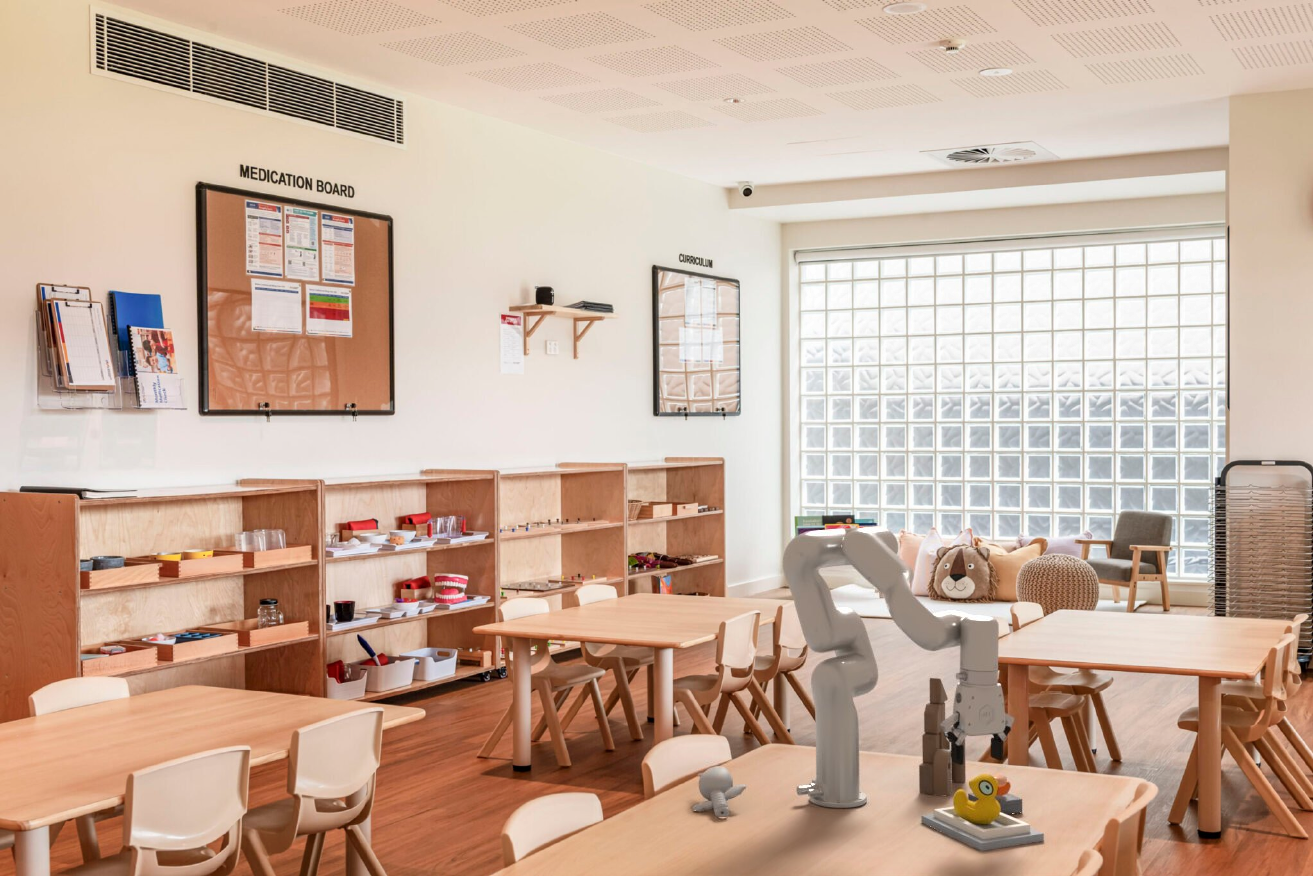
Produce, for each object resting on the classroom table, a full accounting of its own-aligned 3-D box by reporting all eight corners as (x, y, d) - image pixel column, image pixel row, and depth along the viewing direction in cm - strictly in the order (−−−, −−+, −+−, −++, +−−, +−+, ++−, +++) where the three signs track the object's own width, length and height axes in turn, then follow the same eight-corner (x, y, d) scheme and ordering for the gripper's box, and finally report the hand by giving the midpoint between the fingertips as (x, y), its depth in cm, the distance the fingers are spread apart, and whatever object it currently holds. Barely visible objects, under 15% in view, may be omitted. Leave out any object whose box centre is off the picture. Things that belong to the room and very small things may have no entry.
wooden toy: (948, 797, 276) (947, 685, 276) (919, 793, 280) (917, 682, 280) (967, 780, 290) (966, 674, 290) (939, 777, 293) (938, 671, 293)
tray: (981, 851, 239) (981, 835, 239) (921, 822, 257) (921, 808, 257) (1043, 841, 245) (1043, 825, 245) (980, 814, 263) (980, 799, 263)
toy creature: (689, 806, 260) (680, 767, 280) (700, 836, 261) (691, 796, 281) (745, 785, 261) (732, 748, 280) (756, 816, 262) (743, 776, 281)
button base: (991, 817, 260) (991, 803, 261) (968, 807, 268) (968, 793, 268) (1022, 813, 264) (1022, 798, 264) (998, 803, 271) (998, 789, 271)
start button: (992, 795, 262) (992, 781, 263) (978, 789, 267) (977, 775, 267) (1011, 792, 264) (1011, 778, 264) (997, 787, 269) (996, 773, 269)
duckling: (1012, 822, 252) (1011, 773, 252) (1010, 830, 247) (1009, 779, 247) (955, 817, 256) (954, 768, 256) (952, 824, 251) (951, 775, 251)
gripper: (954, 683, 245) (952, 769, 245) (1025, 678, 251) (1023, 762, 251) (932, 676, 252) (930, 760, 252) (1001, 671, 258) (1000, 752, 258)
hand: (977, 761), depth 252 cm, fingers open, 9 cm apart
